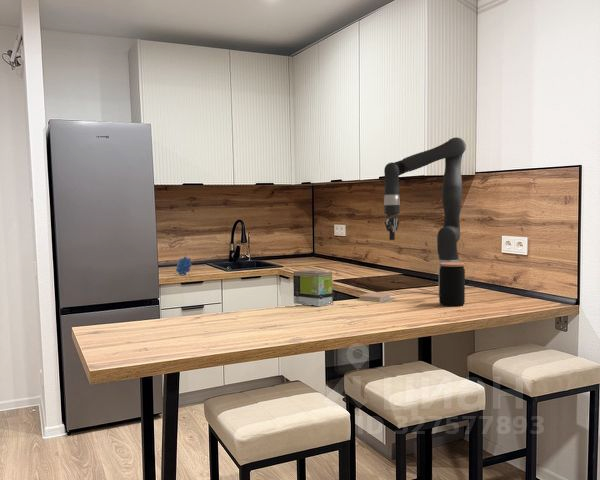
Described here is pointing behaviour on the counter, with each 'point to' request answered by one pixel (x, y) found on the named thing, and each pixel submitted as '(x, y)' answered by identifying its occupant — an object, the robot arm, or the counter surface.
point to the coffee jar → (452, 284)
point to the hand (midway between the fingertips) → (392, 239)
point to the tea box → (312, 287)
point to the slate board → (381, 301)
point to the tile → (374, 297)
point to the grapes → (183, 266)
